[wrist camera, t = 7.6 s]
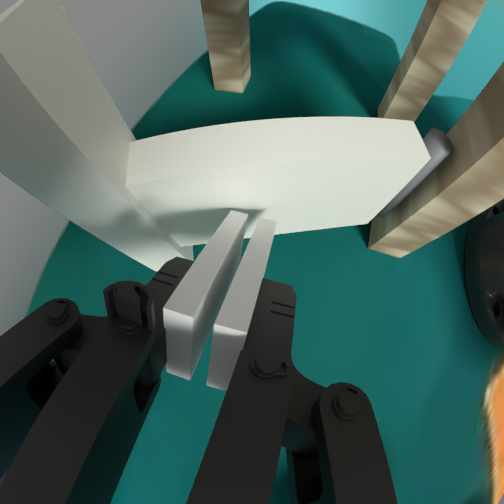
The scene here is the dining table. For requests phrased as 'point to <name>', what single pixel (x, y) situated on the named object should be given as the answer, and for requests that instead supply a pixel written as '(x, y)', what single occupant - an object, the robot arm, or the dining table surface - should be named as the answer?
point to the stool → (404, 118)
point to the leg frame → (184, 155)
